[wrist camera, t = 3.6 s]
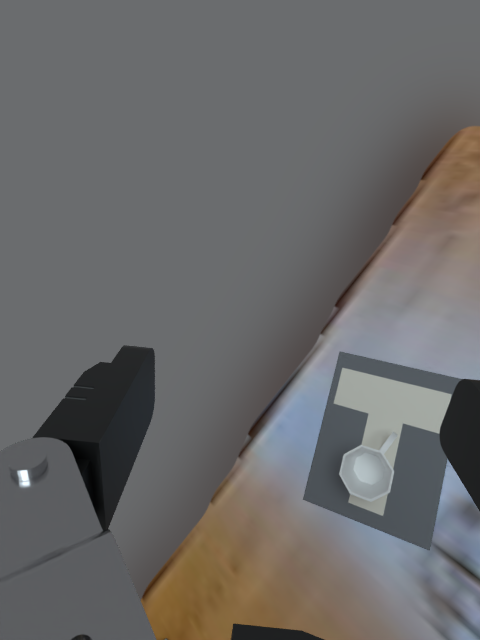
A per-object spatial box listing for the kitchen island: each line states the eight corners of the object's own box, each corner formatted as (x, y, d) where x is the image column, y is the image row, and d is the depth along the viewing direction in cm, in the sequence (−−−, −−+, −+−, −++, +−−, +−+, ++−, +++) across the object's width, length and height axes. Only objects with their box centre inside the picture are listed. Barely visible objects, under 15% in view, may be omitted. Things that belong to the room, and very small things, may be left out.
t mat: (429, 550, 52) (429, 550, 52) (303, 499, 60) (303, 499, 60) (462, 379, 56) (462, 379, 56) (340, 351, 64) (339, 351, 64)
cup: (336, 469, 59) (328, 475, 52) (375, 417, 59) (372, 415, 52) (376, 504, 56) (373, 514, 49) (417, 449, 56) (420, 451, 49)
